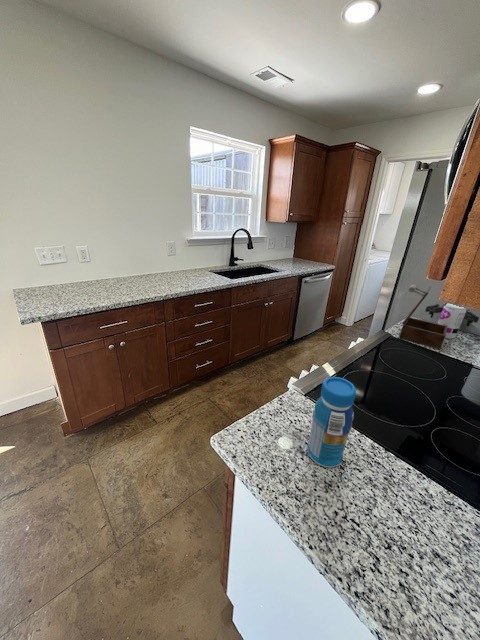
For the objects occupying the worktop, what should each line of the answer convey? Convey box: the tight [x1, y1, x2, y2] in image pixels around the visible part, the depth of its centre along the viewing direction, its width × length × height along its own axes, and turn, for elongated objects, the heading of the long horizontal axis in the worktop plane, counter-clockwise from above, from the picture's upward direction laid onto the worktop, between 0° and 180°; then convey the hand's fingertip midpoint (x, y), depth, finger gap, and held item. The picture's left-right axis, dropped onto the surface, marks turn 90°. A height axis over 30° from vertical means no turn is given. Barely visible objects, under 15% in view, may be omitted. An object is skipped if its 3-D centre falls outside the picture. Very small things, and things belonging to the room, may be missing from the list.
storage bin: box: [398, 316, 447, 351], centre depth 119 cm, size 16×13×7 cm
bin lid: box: [402, 284, 432, 325], centre depth 119 cm, size 16×13×7 cm
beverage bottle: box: [306, 376, 357, 468], centre depth 59 cm, size 8×8×20 cm
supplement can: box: [437, 303, 467, 340], centre depth 122 cm, size 8×8×15 cm
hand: (449, 319), depth 120 cm, fingers open, 13 cm apart
